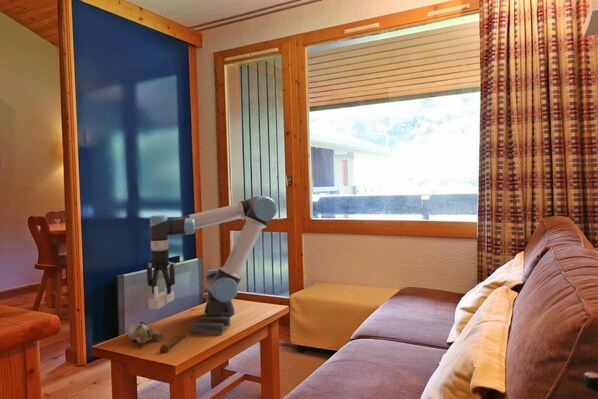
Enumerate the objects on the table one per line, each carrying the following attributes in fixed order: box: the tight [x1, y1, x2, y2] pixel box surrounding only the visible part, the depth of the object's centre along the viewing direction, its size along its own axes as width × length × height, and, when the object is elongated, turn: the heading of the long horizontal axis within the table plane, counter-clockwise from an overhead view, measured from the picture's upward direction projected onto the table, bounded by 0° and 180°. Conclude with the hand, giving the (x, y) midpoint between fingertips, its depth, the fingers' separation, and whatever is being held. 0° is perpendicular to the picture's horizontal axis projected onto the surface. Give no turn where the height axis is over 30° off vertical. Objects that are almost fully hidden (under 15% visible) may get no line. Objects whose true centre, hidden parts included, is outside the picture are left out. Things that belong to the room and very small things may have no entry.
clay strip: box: [148, 290, 175, 310], centre depth 185 cm, size 16×4×4 cm, turn 173°
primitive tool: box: [159, 334, 187, 354], centre depth 168 cm, size 19×6×4 cm, turn 179°
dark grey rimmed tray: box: [190, 316, 231, 336], centre depth 184 cm, size 12×14×4 cm
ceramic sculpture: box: [127, 321, 165, 346], centre depth 173 cm, size 11×9×15 cm
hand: (162, 300), depth 185 cm, fingers closed on clay strip, 4 cm apart
